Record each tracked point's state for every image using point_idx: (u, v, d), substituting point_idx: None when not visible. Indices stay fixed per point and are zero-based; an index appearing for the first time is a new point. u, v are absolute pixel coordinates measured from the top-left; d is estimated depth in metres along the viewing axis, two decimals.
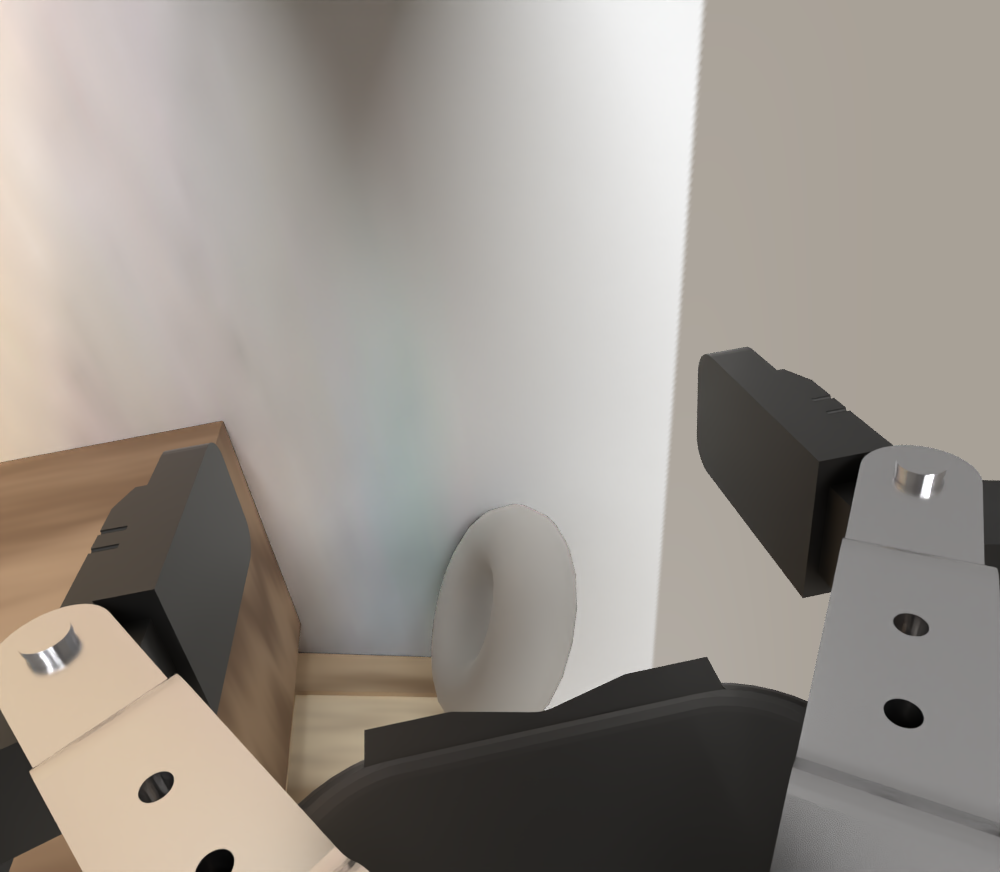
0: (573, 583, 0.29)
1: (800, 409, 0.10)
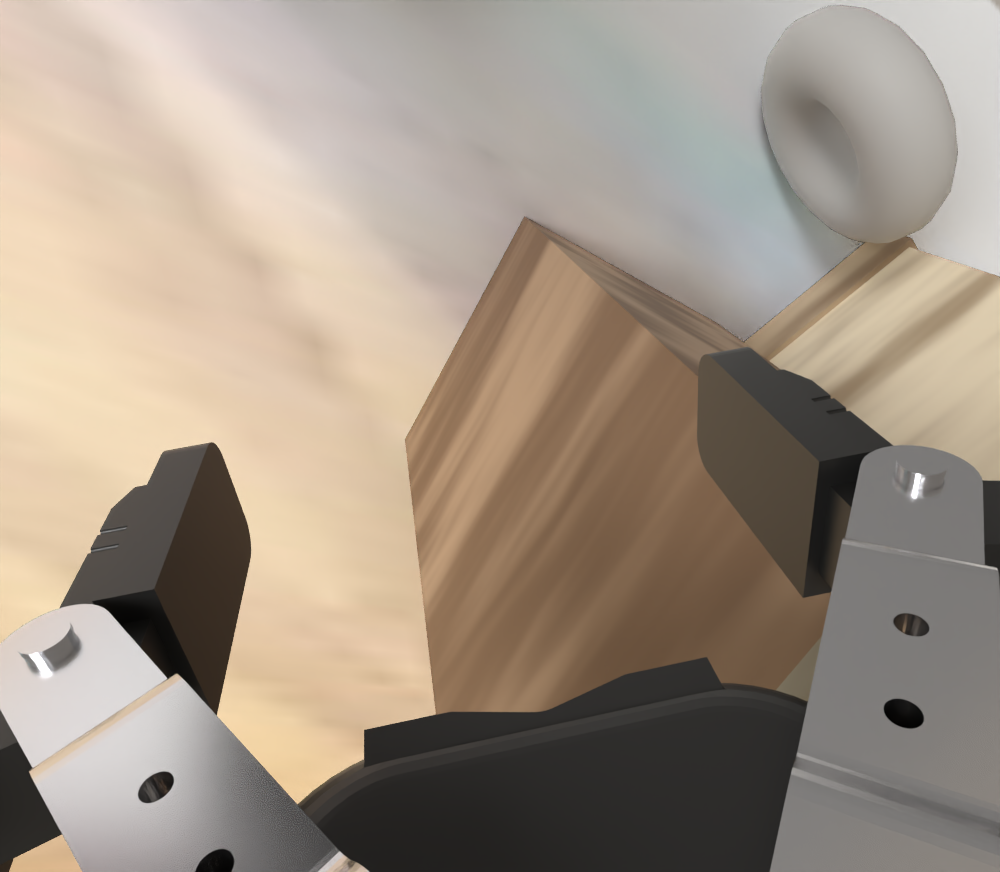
0: (877, 15, 0.27)
1: (800, 409, 0.10)
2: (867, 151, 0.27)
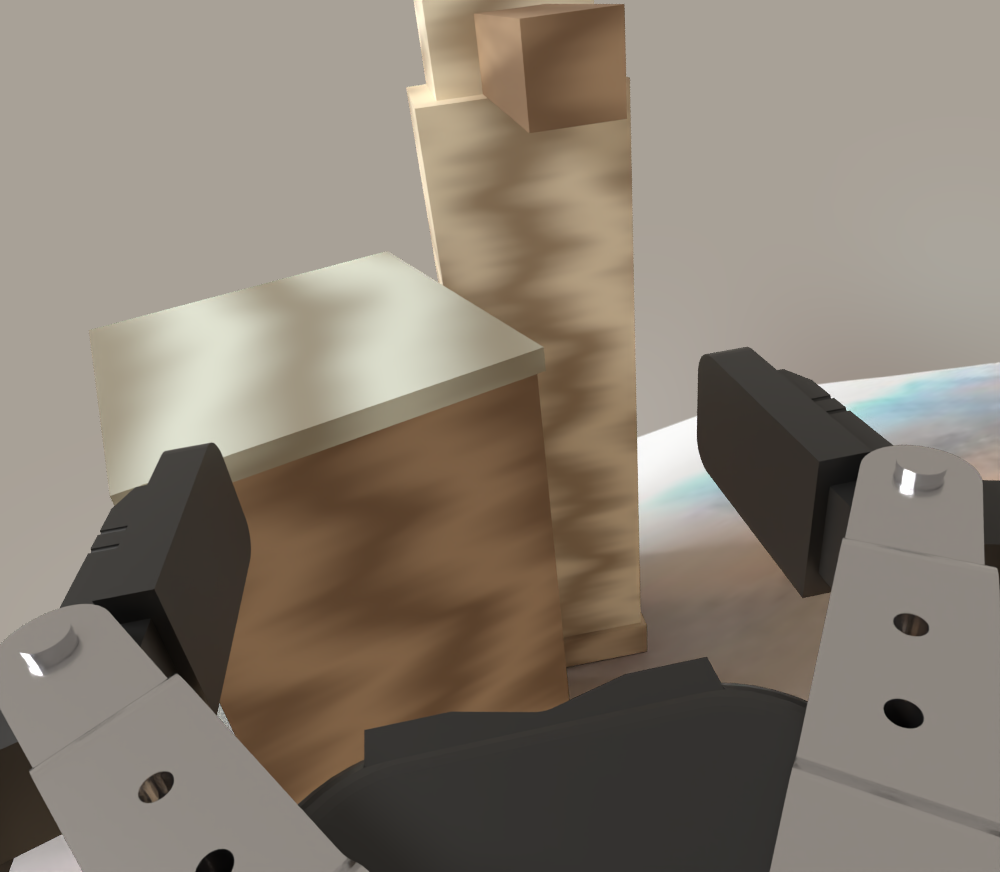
0: None
1: (800, 409, 0.10)
2: None
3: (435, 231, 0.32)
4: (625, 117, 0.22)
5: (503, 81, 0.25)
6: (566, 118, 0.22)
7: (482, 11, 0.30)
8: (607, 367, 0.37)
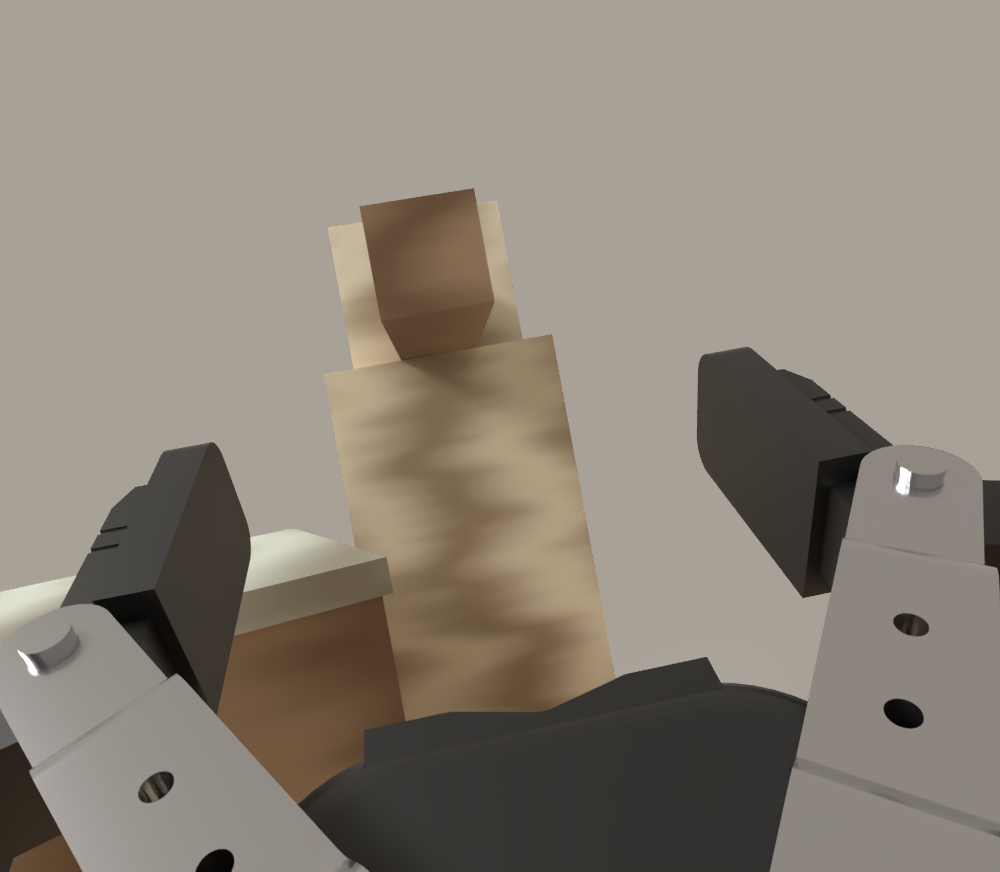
0: None
1: (800, 409, 0.10)
2: None
3: (348, 502, 0.28)
4: (492, 300, 0.19)
5: None
6: (422, 303, 0.19)
7: None
8: (576, 670, 0.29)
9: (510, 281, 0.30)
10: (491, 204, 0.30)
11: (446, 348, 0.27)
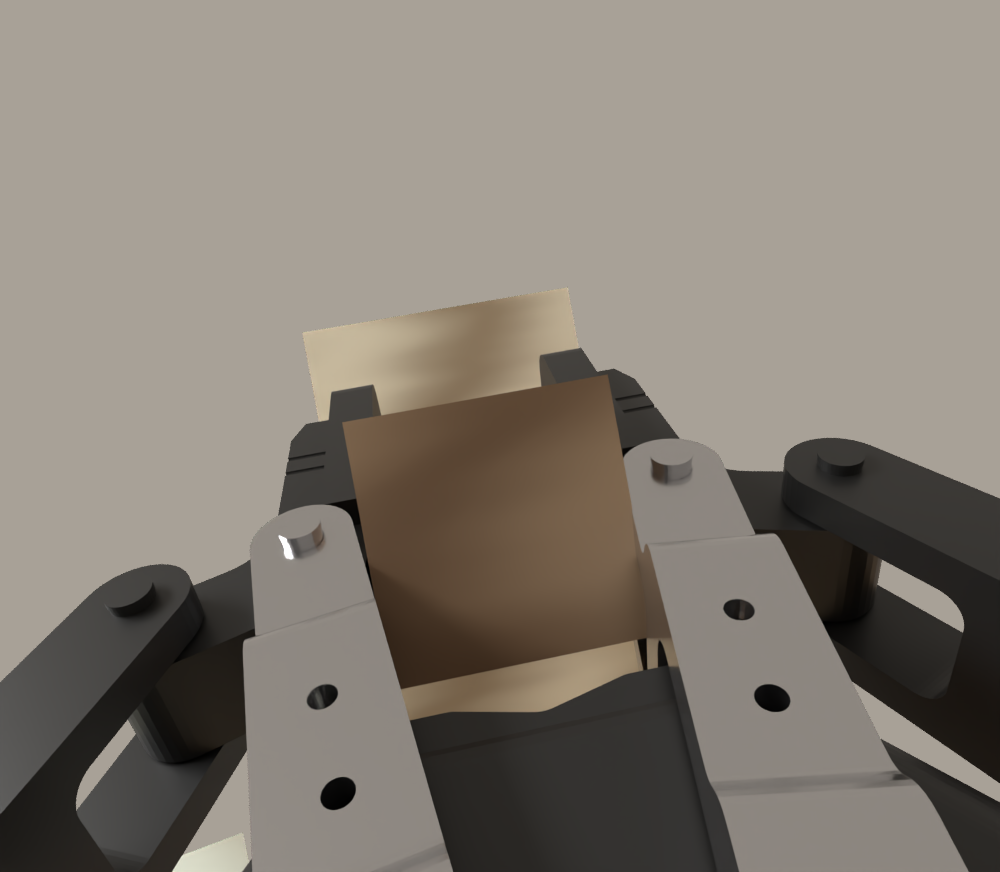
0: None
1: None
2: None
3: None
4: None
5: None
6: (490, 646, 0.08)
7: None
8: None
9: None
10: (559, 293, 0.19)
11: None
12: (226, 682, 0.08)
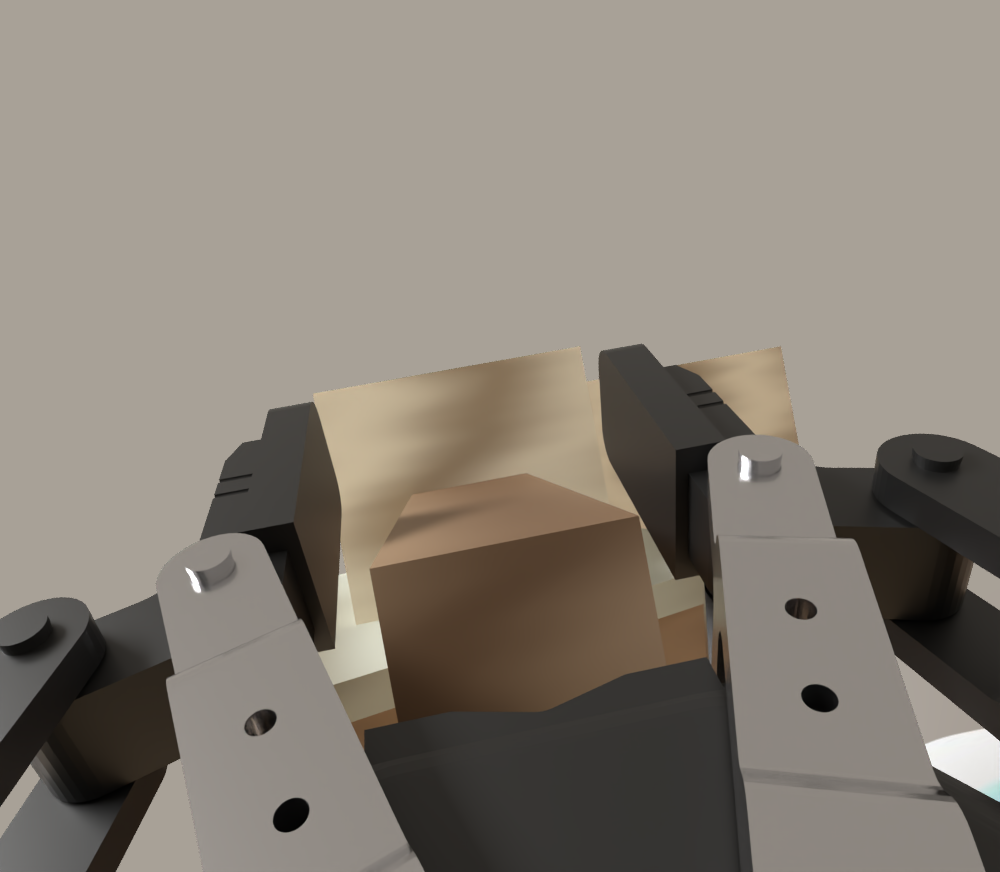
0: None
1: (673, 402, 0.10)
2: None
3: None
4: None
5: None
6: None
7: (425, 490, 0.19)
8: None
9: (601, 473, 0.19)
10: (571, 352, 0.19)
11: None
12: (137, 709, 0.08)
